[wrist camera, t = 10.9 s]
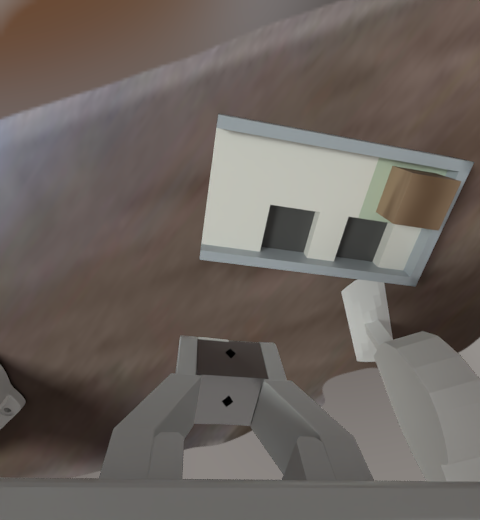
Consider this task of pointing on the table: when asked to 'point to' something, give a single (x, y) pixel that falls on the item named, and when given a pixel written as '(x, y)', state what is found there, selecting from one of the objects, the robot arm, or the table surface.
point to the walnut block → (417, 198)
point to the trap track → (313, 203)
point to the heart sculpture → (420, 386)
